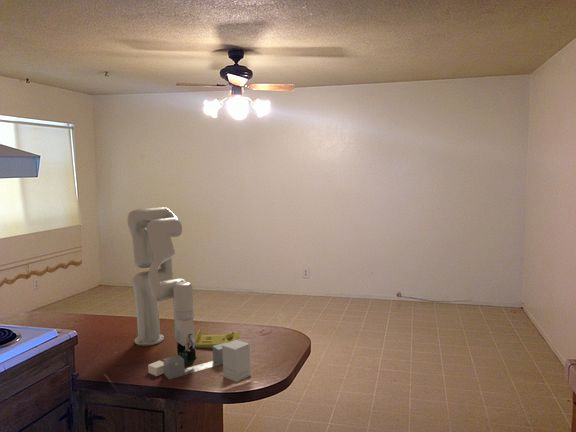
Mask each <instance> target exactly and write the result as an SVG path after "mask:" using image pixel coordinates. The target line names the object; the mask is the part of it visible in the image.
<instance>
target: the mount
mask: <svg viewBox="0 0 576 432" xmlns="http://www.w3.org/2000/svg"><path fill="white" fill-rule="evenodd" d="M187 351H188V349H186V350H184V351H183V353H179V354H178V353H177V355H180V356H181V357H182V358H183V359H184V367H186V366H188V365H190V364H192V363H193V362H195V361H196V360H193V361H189V362H188V361H187ZM196 359H198V358H197V356H196Z"/></svg>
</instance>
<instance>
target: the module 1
mask: <svg viewBox="0 0 576 432" xmlns="http://www.w3.org/2000/svg"><path fill="white" fill-rule="evenodd" d="M162 362H164V373H163V375H164V376H165V377H166V378H167V379H168V380H173V379H175V377H176V378H179V377H182V375H183V376H186V375H185V366H184V359H183V358H182V357H181V356H180V355H178V354H177V355H172V356H169V357H166V358H163V361H162Z"/></svg>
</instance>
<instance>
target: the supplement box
mask: <svg viewBox="0 0 576 432" xmlns="http://www.w3.org/2000/svg"><path fill="white" fill-rule="evenodd" d="M250 349H251V348H250V343H248V342H245V341H242V340H239V339H238V340H234V341H232V342H229V343H227V344H225V345H222V353H223V364H222V372H223V374H222V375H223V377H224V378H225V379H228V380H231V381H233V382H235V383H237V384H239V383H240V382H241V380H244V379H246V378H248V377H249V376H252V373H251V352H250Z"/></svg>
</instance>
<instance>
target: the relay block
mask: <svg viewBox="0 0 576 432" xmlns="http://www.w3.org/2000/svg"><path fill="white" fill-rule="evenodd" d="M147 368H148V374H149V375H153V376H155V377H157V376H160V375H162V374H163V375H164V362H163V361H162V360H160V359H159V360H157V361H154V362H152V363H150V364H148V365H147Z"/></svg>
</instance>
